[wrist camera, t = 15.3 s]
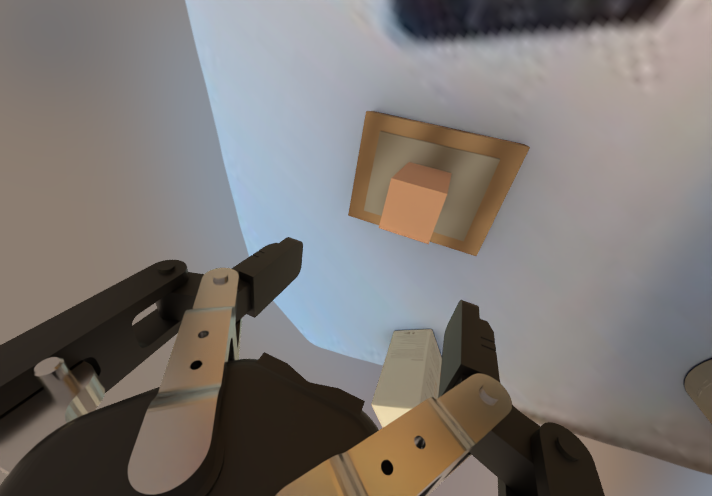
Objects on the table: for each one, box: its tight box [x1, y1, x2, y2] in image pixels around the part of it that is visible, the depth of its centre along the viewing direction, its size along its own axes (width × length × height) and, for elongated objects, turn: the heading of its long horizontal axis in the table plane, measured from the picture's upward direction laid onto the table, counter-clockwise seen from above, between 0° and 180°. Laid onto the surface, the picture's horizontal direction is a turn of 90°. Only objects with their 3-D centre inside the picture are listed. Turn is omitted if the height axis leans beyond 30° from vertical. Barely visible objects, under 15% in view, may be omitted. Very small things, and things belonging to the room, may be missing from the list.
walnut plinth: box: [348, 111, 530, 256], centre depth 29 cm, size 16×12×3 cm
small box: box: [371, 329, 442, 428], centre depth 37 cm, size 8×6×13 cm
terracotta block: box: [379, 162, 452, 244], centre depth 25 cm, size 4×4×8 cm
